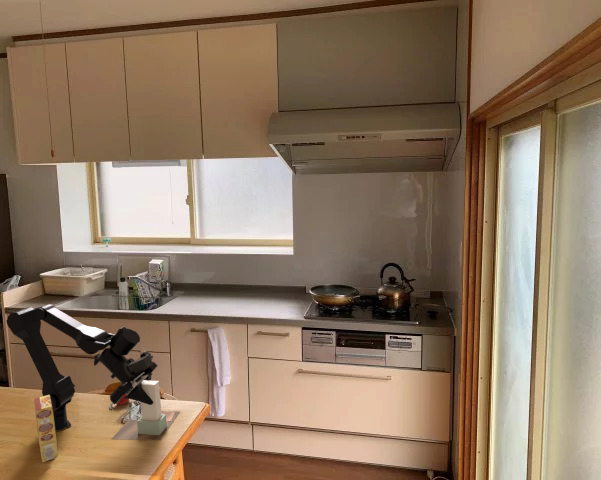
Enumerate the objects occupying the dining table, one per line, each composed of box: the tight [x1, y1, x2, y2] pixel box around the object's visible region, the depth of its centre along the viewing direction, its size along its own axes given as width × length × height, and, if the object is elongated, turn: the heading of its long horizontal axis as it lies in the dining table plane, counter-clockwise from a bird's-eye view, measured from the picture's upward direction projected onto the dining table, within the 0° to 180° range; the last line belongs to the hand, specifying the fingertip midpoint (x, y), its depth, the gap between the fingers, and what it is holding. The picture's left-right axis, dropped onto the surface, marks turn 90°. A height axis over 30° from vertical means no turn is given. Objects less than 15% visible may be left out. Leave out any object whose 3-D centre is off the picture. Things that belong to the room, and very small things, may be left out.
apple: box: [108, 393, 130, 410], centre depth 154 cm, size 8×8×6 cm
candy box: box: [33, 395, 59, 463], centre depth 127 cm, size 9×4×15 cm, turn 33°
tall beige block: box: [140, 380, 162, 421], centre depth 135 cm, size 5×3×12 cm, turn 80°
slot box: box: [137, 414, 167, 435], centre depth 136 cm, size 7×5×4 cm, turn 80°
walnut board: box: [111, 410, 181, 441], centre depth 139 cm, size 15×16×1 cm
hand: (154, 401), depth 135 cm, fingers closed on tall beige block, 3 cm apart
